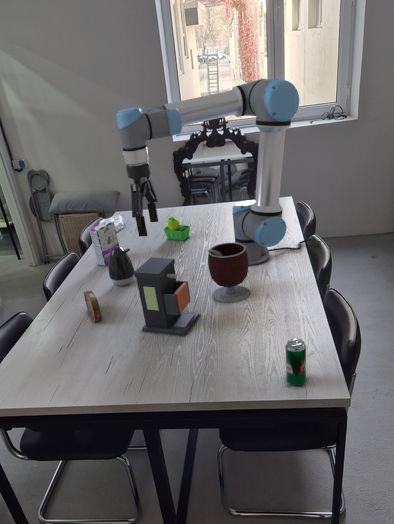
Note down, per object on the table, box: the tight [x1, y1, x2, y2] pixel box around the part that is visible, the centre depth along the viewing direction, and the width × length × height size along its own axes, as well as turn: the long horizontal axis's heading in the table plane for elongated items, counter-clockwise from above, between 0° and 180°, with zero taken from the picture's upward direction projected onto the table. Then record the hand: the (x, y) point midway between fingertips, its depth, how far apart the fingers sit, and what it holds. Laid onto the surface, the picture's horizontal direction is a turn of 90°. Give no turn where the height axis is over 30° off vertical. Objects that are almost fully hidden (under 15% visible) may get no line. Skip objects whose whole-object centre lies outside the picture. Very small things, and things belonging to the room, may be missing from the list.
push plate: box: [174, 283, 191, 314], centre depth 154 cm, size 1×8×7 cm, turn 157°
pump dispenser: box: [107, 246, 136, 287], centre depth 190 cm, size 10×10×15 cm
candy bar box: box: [88, 221, 120, 267], centre depth 211 cm, size 11×5×16 cm, turn 148°
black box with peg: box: [134, 257, 200, 336], centre depth 156 cm, size 15×13×21 cm
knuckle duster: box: [97, 215, 127, 233], centre depth 254 cm, size 3×18×15 cm
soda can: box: [285, 337, 307, 387], centre depth 124 cm, size 5×5×12 cm
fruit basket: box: [162, 216, 191, 242], centre depth 227 cm, size 11×9×11 cm
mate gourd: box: [207, 242, 249, 304], centre depth 168 cm, size 16×14×20 cm
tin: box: [83, 290, 102, 323], centre depth 171 cm, size 15×3×8 cm, turn 23°
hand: (149, 228), depth 163 cm, fingers open, 13 cm apart
